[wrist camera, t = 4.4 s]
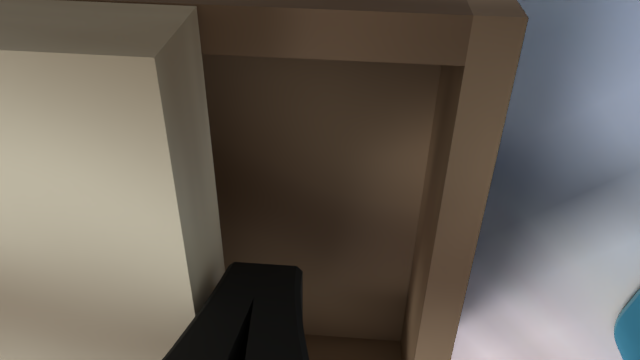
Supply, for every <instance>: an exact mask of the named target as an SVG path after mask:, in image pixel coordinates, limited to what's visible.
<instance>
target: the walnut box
mask: <svg viewBox="0 0 640 360" xmlns="http://www.w3.org/2000/svg"><path fill="white" fill-rule="evenodd" d="M65 1H88V2H111V3H134V4H157V5H180V6H197V15H198V25H199V34H200V43H201V53H202V62H203V71H204V81H205V90H206V99H207V108H208V118H209V127H210V136H211V146H212V155H213V164H214V173H215V183H216V192H217V201H218V211H219V220H220V229H221V239H222V248H223V257H224V266H225V271H226V269H227V268H228V266H229V265H230V264H232V263H233V262H245V263H260V264H275V265H289V266H297V267H299V268H300V269H301V270H302V271H303V328H304V334H305V340H306V346H307V351H308V356H309V360H451V355H452V351H453V347H454V342H455V338H456V334H457V329H458V325H459V320H460V316H461V312H462V307H463V303H464V298H465V294H466V290H467V285H468V281H469V276H470V272H471V268H472V263H473V259H474V255H475V250H476V246H477V241H478V237H479V233H480V228H481V224H482V219H483V215H484V211H485V206H486V202H487V198H488V193H489V189H490V184H491V180H492V176H493V171H494V167H495V162H496V158H497V154H498V149H499V145H500V141H501V136H502V132H503V127H504V123H505V119H506V114H507V110H508V105H509V101H510V97H511V92H512V88H513V83H514V79H515V75H516V70H517V66H518V62H519V57H520V53H521V48H522V44H523V40H524V35H525V31H526V26H527V22H528V16H527V15H526V13H525V12H524V10H523V9H522V7H521V6H520V4H519V3H518V1H517V0H65Z"/></svg>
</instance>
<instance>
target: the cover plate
mask: <svg viewBox="0 0 640 360" xmlns="http://www.w3.org/2000/svg"><path fill="white" fill-rule="evenodd" d="M224 273H225V266H224V257H223V248H222V239H221V229H220V220H219V211H218V201H217V192H216V183H215V173H214V164H213V155H212V146H211V136H210V127H209V118H208V108H207V99H206V90H205V81H204V71H203V62H202V53H201V43H200V34H199V25H198V15H197V6H180V5H157V4H134V3H111V2H88V1H65V0H0V360H162V359H163V358H164V357H165V355H166V354H167V353H168V352H169V350H170V349H171V348H172V346H173V345H174V344H175V342H176V341H177V340H178V339H179V337H180V336H181V335H182V333H183V332H184V331H185V329H186V328H187V327H188V325H189V324H190V323H191V321H192V320H193V319H194V317H195V316H196V315H197V313H198V312H199V310H200V309H201V307H202V306H203V305H204V303H205V302H206V300H207V299H208V297H209V296H210V294H211V293H212V291H213V290H214V288H215V287H216V285H217V284H218V282H219V281H220V279H221V277H222V276H223V274H224Z"/></svg>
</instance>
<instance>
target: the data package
mask: <svg viewBox="0 0 640 360" xmlns="http://www.w3.org/2000/svg"><path fill="white" fill-rule="evenodd" d="M614 337H615V341H616V344H617V347H618V349H619V351H620V353H621V356H622V358H623V360H640V289H639V290H638V291H637V293H636V294H635V295H634V296H633V297H632V299H631V300H630V301H629V302H628V304H627V305H626V306H625V307H624V308H623V310H622V311H621V313H620V314H619V316H618V318H617V320H616V323H615V327H614Z"/></svg>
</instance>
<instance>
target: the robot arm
mask: <svg viewBox="0 0 640 360" xmlns="http://www.w3.org/2000/svg"><path fill="white" fill-rule="evenodd" d="M162 360H309V356H308V351H307V346H306V340H305V334H304V328H303V271H302V270H301V269H300V268H299V267H297V266H289V265H275V264H260V263H245V262H233V263H232V264H230V265H229V266H228V268H227V269H226V271H225V273H224V274H223V276H222V277H221V279H220V281H219V282H218V284H217V285H216V287H215V288H214V290H213V291H212V293H211V294H210V296H209V297H208V299H207V300H206V302H205V303H204V305H203V306H202V307H201V309H200V310H199V312H198V313H197V315H196V316H195V317H194V319H193V320H192V321H191V323H190V324H189V325H188V327H187V328H186V329H185V331H184V332H183V333H182V335H181V336H180V337H179V339H178V340H177V341H176V342H175V344H174V345H173V346H172V348H171V349H170V350H169V352H168V353H167V354H166V355H165V357H164V358H163V359H162Z"/></svg>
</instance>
